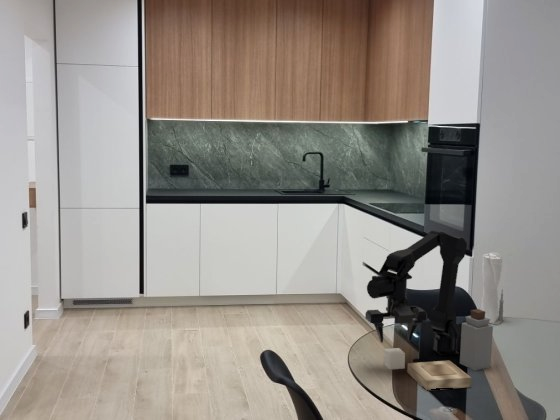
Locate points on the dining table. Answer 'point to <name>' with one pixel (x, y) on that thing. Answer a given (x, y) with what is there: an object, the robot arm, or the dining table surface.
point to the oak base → (438, 375)
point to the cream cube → (394, 358)
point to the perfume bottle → (476, 341)
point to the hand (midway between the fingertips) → (395, 341)
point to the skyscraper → (492, 288)
